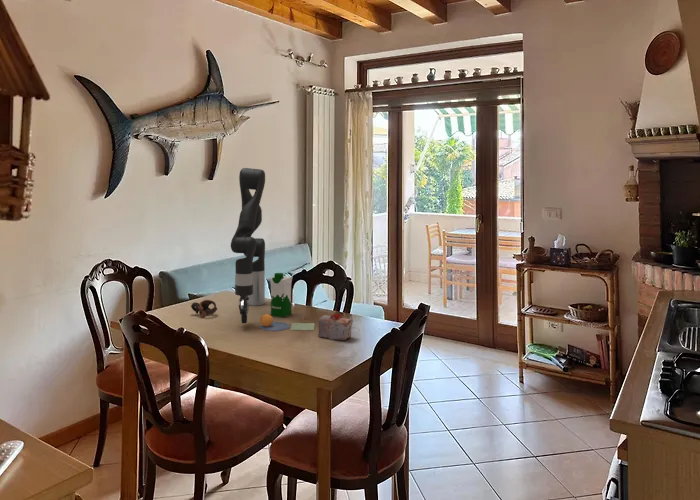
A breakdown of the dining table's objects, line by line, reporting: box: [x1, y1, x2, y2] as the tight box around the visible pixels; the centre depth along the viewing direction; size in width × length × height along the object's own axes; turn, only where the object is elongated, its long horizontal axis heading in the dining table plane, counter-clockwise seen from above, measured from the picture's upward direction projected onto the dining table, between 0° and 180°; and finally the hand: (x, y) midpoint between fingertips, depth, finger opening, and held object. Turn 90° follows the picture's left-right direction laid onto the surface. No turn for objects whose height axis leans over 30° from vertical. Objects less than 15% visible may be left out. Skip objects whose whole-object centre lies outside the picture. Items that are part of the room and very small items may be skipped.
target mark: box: [258, 321, 291, 332], centre depth 221 cm, size 13×13×1 cm
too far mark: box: [289, 322, 316, 331], centre depth 222 cm, size 10×10×1 cm
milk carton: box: [269, 272, 293, 319], centre depth 239 cm, size 9×9×20 cm
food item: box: [317, 313, 353, 341], centre depth 207 cm, size 14×8×10 cm, turn 68°
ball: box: [259, 313, 274, 327], centre depth 220 cm, size 6×6×6 cm
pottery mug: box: [190, 299, 218, 319], centre depth 236 cm, size 12×10×8 cm
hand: (244, 322), depth 220 cm, fingers closed
